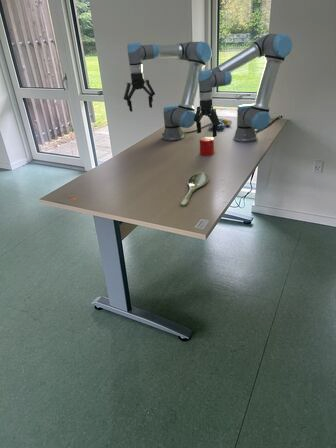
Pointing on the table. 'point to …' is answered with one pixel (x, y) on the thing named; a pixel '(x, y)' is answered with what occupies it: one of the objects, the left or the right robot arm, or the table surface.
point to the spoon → (195, 184)
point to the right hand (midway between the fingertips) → (206, 134)
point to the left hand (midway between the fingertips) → (141, 109)
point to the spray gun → (221, 126)
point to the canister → (207, 146)
